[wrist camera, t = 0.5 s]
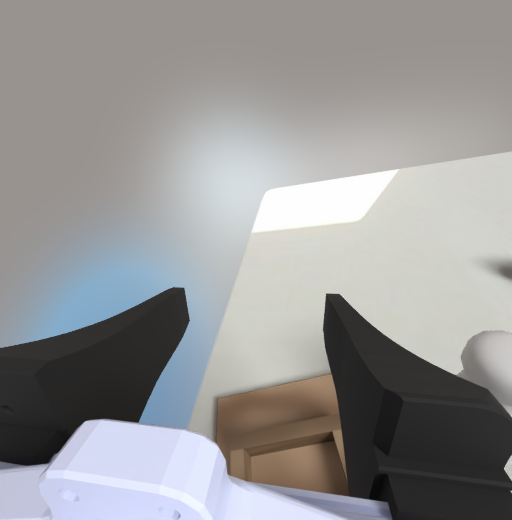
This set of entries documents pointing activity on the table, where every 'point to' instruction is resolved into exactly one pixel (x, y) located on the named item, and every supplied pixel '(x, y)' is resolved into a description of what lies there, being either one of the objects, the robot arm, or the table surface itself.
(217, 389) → the table surface
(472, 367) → the salt shaker
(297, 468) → the socket board
